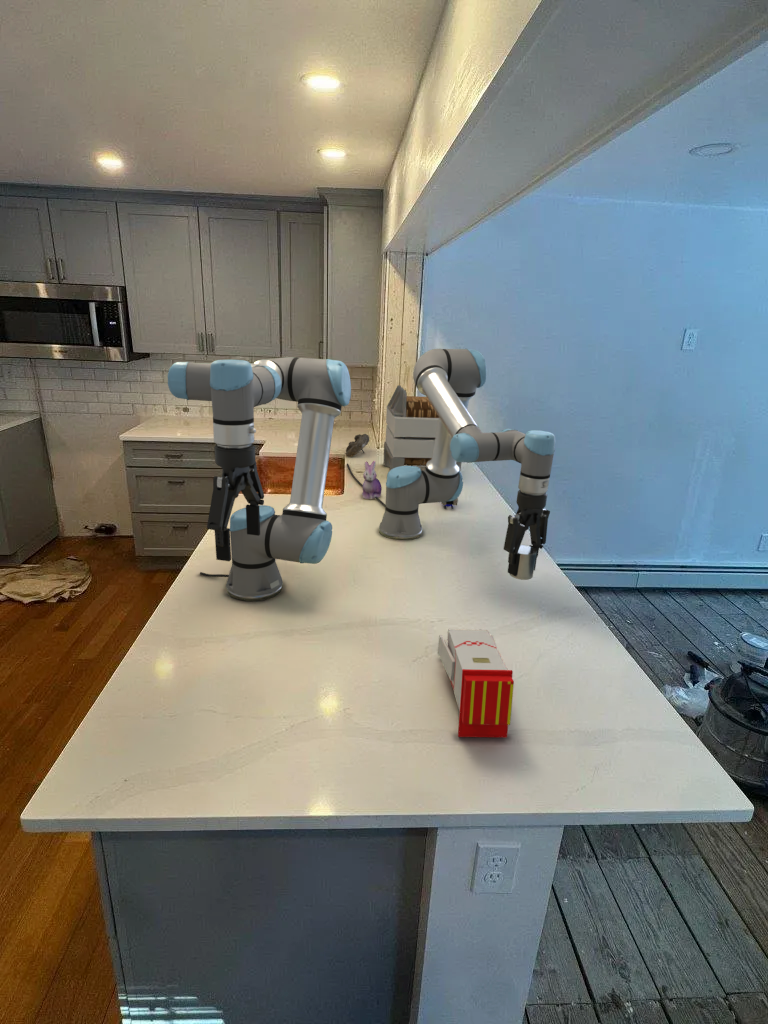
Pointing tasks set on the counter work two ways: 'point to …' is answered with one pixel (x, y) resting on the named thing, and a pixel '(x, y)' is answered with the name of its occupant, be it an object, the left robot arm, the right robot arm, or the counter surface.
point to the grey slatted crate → (409, 430)
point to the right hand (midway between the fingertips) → (521, 571)
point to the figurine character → (450, 503)
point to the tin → (525, 562)
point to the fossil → (357, 445)
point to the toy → (478, 682)
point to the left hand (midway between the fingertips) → (239, 546)
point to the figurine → (371, 482)
